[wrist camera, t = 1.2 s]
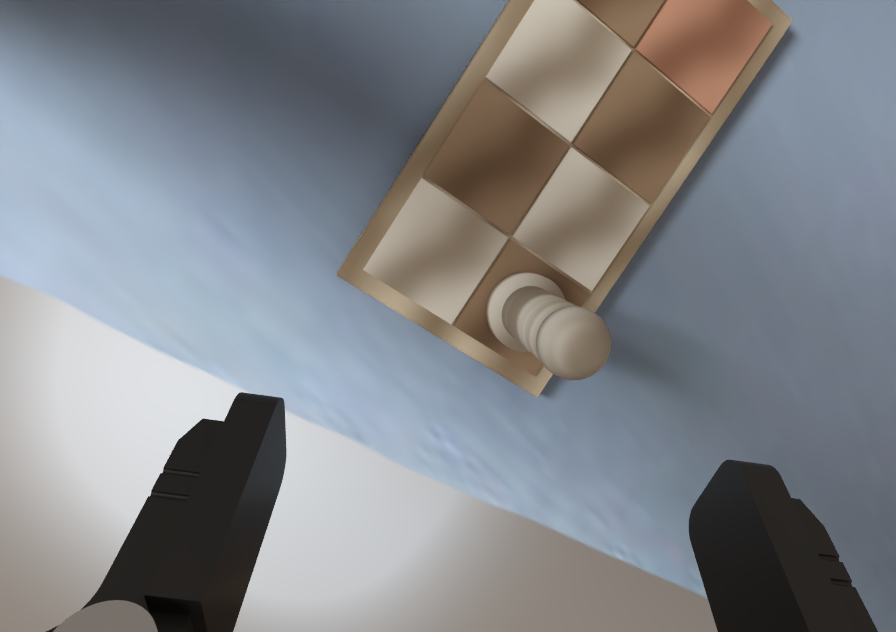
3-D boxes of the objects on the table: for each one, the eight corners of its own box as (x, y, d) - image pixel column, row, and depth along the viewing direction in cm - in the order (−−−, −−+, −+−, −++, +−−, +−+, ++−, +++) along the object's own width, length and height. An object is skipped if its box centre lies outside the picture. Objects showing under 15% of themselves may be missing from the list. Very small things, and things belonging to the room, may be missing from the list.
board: (336, 272, 36) (336, 275, 34) (600, -144, 34) (611, -158, 32) (531, 391, 40) (538, 398, 38) (779, 25, 37) (795, 19, 36)
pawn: (470, 322, 36) (517, 370, 27) (513, 256, 36) (577, 281, 26) (531, 360, 38) (597, 419, 28) (574, 297, 37) (655, 335, 28)
